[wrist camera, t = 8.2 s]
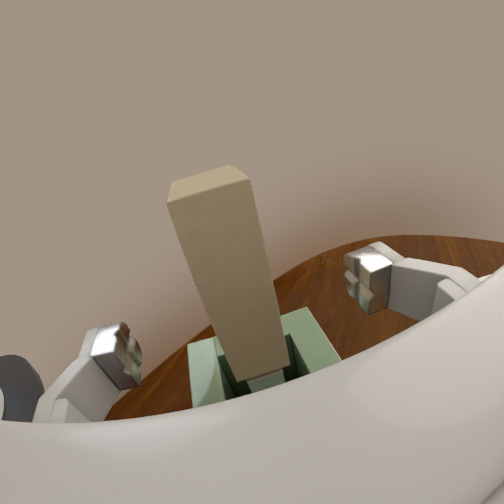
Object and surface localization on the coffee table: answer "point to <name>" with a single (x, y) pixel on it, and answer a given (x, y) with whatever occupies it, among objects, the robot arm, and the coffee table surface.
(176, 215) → the knife
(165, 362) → the coffee table surface
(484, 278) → the white flat sheet
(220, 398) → the holder
